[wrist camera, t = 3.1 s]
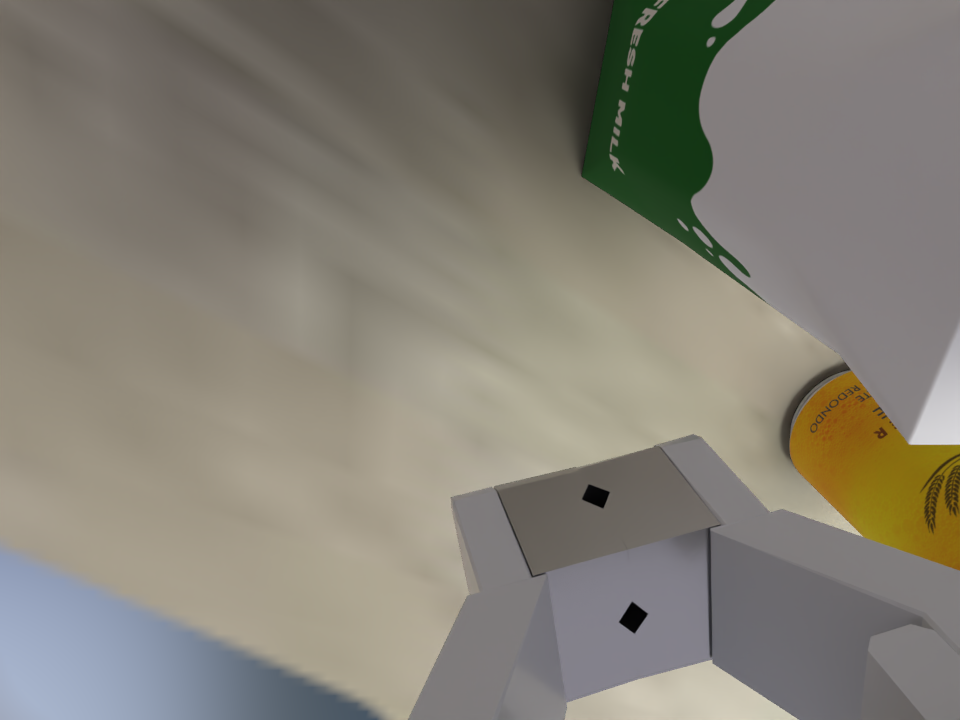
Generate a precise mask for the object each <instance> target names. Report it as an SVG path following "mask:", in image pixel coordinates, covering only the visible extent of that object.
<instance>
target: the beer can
mask: <svg viewBox="0 0 960 720" xmlns="http://www.w3.org/2000/svg"><path fill="white" fill-rule="evenodd" d="M789 447H790V456H791V459H792V462H793V464H794V466H795V468H796V469H797V471H798V472H799V473H800V474H801V475H802V476H803V477H804V478H805V479H806V480H807V481H808V482H809V483H810V484H811V485H812V486H813V487H814V488H815V489H816V490H817V491H818V492H819V493H820V494H821V495H822V496H823V497H824V498H825V499H826V500H827V501H828V502H829V503H830V504H831V505H832V506H833V507H834V508H835V509H836V510H837V511H838V512H839V513H840V514H841V515H842V516H843V517H844V518H845V519H846V520H847V521H848V522H849V523H850V524H851V525H852V526H853V527H854V528H855V529H856V530H857V531H858V532H859V533H860V534H861V535H862V536H863V537H864V538H867V539H870V540H873V541H875V542H878V543H881V544H884V545H887V546H890V547H893V548H896V549H898V550H901V551H904V552H907V553H910V554H913V555H916V556H919V557H921V558H924V559H927V560H930V561H933V562H936V563H939V564H942V565H944V566H947V567H950V568H953V569H956V570H959V571H960V445H911V444H908V443H907V441H906V440H905V438H904V437H903V436H902V435H901V433H900V432H899V431H898V429H897V428H896V427H895V426H894V424H893V423H892V422H891V420H890V419H889V418H888V417H887V415H886V414H885V413H884V411H883V410H882V409H881V408H880V406H879V405H878V404H877V402H876V401H875V400H874V398H873V397H872V396H871V395H870V393H869V392H868V391H867V389H866V388H865V387H864V386H863V384H862V383H861V382H860V380H859V379H858V378H857V377H856V375H855V374H854V373H853V371H852V370H848V371H844V372H840V373H837V374H835V375H833V376H831V377H828V378H827V379H825V380H823V381H822V382H821V383H819V384H818V385H817V386H815V387H814V388H813V389H812V390H811V391H810V392H809V393H808V394H807V395H806V396H805V398H804V399H803V400H802V402H801V403H800V404H799V406H798V408H797V410H796V412H795V414H794V417H793V420H792V423H791V429H790V444H789Z"/></svg>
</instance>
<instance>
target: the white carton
mask: <svg viewBox="0 0 960 720" xmlns="http://www.w3.org/2000/svg"><path fill="white" fill-rule="evenodd" d="M582 177H583V178H585V179H586V180H588V181H590V182H591V183H593V184H594V185H596V186H597V187H599V188H600V189H602V190H603V191H605V192H607V193H608V194H610V195H611V196H613V197H614V198H616V199H617V200H619V201H620V202H622V203H623V204H625V205H627V206H628V207H630V208H631V209H633V210H634V211H636V212H637V213H639V214H640V215H642V216H643V217H645V218H646V219H648V220H649V221H651V222H652V223H654V224H655V225H657V226H658V227H660V228H661V229H663V230H664V231H666V232H668V233H669V234H671V235H672V236H674V237H675V238H677V239H678V240H680V241H681V242H683V243H684V244H685V245H687V246H688V247H689V248H691V249H692V250H694V251H695V252H696V253H698V254H699V255H700V256H702V257H703V258H704V259H706V260H707V261H709V262H710V263H711V264H713V265H714V266H716V267H717V268H719V269H720V270H721V271H723V272H724V273H726V274H727V275H728V276H730V277H731V278H733V279H734V280H735V281H737V282H738V283H740V284H741V285H742V286H744V287H745V288H747V289H748V290H749V291H751V292H752V293H754V294H755V295H756V296H758V297H759V298H761V299H762V300H763V301H765V302H766V303H768V304H769V305H770V306H772V307H773V308H775V309H776V310H777V311H779V312H780V313H782V314H783V315H784V316H786V317H787V318H789V319H790V320H791V321H793V322H794V323H796V324H797V325H798V326H800V327H801V328H803V329H804V330H805V331H807V332H808V333H810V334H811V335H812V336H814V337H815V338H817V339H818V340H819V341H821V342H822V343H824V344H825V345H827V346H828V347H829V348H831V349H832V350H834V351H835V352H837V353H838V354H839V355H840V356H841V357H842V359H843V360H844V361H845V363H846V364H847V365H848V366H849V368H850V369H851V370H852V371H853V373H854V374H855V375H856V377H857V378H858V379H859V380H860V382H861V383H862V384H863V386H864V387H865V388H866V389H867V391H868V392H869V393H870V395H871V396H872V397H873V398H874V400H875V401H876V402H877V404H878V405H879V406H880V408H881V409H882V410H883V411H884V413H885V414H886V415H887V417H888V418H889V419H890V420H891V422H892V423H893V424H894V426H895V427H896V428H897V429H898V431H899V432H900V433H901V435H902V436H903V437H904V438H905V440H906V441H907V443H908V444H911V445H960V0H614V3H613V9H612V14H611V20H610V25H609V30H608V36H607V41H606V47H605V52H604V57H603V63H602V68H601V74H600V79H599V84H598V90H597V95H596V101H595V106H594V111H593V117H592V122H591V128H590V133H589V138H588V144H587V149H586V155H585V160H584V165H583V171H582Z"/></svg>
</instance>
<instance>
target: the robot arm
mask: <svg viewBox="0 0 960 720" xmlns="http://www.w3.org/2000/svg"><path fill="white" fill-rule="evenodd" d="M451 508H452V513H453V518H454V523H455V528H456V532H457V537H458V542H459V547H460V552H461V557H462V562H463V567H464V572H465V577H466V581H467V585H468V590H469V594H470V595H468V596H467V597H466V599H465V601H464V603H463V606H462V608H461V610H460V612H459V614H458V616H457V618H456V620H455V622H454V624H453V626H452V629H451V631H450V633H449V635H448V637H447V639H446V641H445V643H444V645H443V647H442V649H441V652H440V654H439V656H438V658H437V660H436V662H435V664H434V666H433V668H432V670H431V672H430V675H429V677H428V679H427V681H426V683H425V685H424V687H423V689H422V691H421V693H420V696H419V698H418V700H417V702H416V704H415V706H414V708H413V710H412V712H411V714H410V716H409V719H408V720H564V719H565V714H566V710H567V704H566V703H567V702H570V701H573V700H576V699H579V698H582V697H585V696H588V695H591V694H594V693H597V692H600V691H603V690H606V689H609V688H612V687H615V686H618V685H622V684H625V683H628V682H631V681H634V680H637V679H640V678H644V677H648V676H652V675H655V674H659V673H663V672H667V671H671V670H674V669H678V668H682V667H686V666H689V665H693V664H697V663H701V662H704V661H708V660H712V659H713V664H715V665H716V666H718V667H719V668H721V669H722V670H724V671H725V672H727V673H728V674H730V675H731V676H733V677H735V678H736V679H738V680H739V681H741V682H742V683H744V684H745V685H747V686H748V687H750V688H751V689H753V690H754V691H756V692H758V693H759V694H761V695H762V696H764V697H765V698H767V699H768V700H770V701H771V702H773V703H774V704H776V705H777V706H779V707H780V708H782V709H784V710H785V711H787V712H788V713H790V714H791V715H793V716H794V717H796V718H797V719H799V720H960V571H959V570H956V569H953V568H950V567H947V566H944V565H942V564H939V563H936V562H933V561H930V560H927V559H924V558H921V557H919V556H916V555H913V554H910V553H907V552H904V551H901V550H898V549H896V548H893V547H890V546H887V545H884V544H881V543H878V542H875V541H873V540H870V539H867V538H864V537H861V536H858V535H855V534H852V533H850V532H847V531H844V530H841V529H838V528H835V527H832V526H829V525H827V524H824V523H821V522H818V521H815V520H812V519H809V518H806V517H804V516H801V515H798V514H795V513H792V512H789V511H786V510H783V509H781V510H778V511H774V512H770V511H769V510H768V509H767V508H766V507H765V506H764V505H763V504H762V503H761V502H760V501H759V499H758V498H757V497H756V496H755V495H754V494H753V493H752V492H751V491H750V490H749V489H748V487H747V486H746V485H745V484H744V483H743V482H742V481H741V480H740V479H739V478H738V477H737V475H736V474H735V473H734V472H733V471H732V470H731V469H730V468H729V467H728V466H727V465H726V463H725V462H724V461H723V460H722V459H721V458H720V457H719V456H718V455H717V454H716V453H715V451H714V450H713V449H712V448H711V447H710V446H709V445H708V444H707V443H706V442H705V441H704V440H703V438H702V437H700V436H697V435H694V434H692V435H689V436H686V437H682V438H679V439H675V440H672V441H668V442H665V443H661V444H658V445H654V447H653V448H649V449H645V450H641V451H637V452H634V453H630V454H626V455H622V456H619V457H615V458H611V459H607V460H603V461H600V462H596V463H592V464H588V465H584V466H581V467H577V468H576V467H574V468H569V469H565V470H561V471H557V472H552V473H548V474H544V475H540V476H535V477H531V478H527V479H523V480H518V481H514V482H510V483H506V484H501V485H497V486H494V488H492V487H489V488H485V489H481V490H477V491H473V492H469V493H466V494H462V495H458V496H454V497H451Z"/></svg>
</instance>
